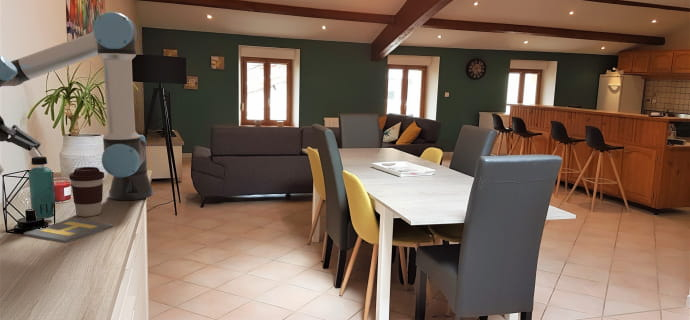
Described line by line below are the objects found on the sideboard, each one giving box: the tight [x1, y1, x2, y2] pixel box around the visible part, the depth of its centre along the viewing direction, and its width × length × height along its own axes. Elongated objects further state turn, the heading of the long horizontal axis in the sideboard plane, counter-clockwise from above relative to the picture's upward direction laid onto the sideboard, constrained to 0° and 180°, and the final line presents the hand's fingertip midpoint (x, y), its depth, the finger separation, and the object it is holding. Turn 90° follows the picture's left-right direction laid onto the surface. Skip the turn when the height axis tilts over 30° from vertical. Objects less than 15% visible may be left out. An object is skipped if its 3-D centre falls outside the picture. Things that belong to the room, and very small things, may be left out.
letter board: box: [23, 218, 113, 243], centre depth 145 cm, size 16×16×1 cm
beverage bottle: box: [27, 156, 56, 219], centre depth 153 cm, size 6×7×20 cm
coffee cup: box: [68, 166, 105, 218], centre depth 161 cm, size 10×10×15 cm
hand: (22, 169), depth 153 cm, fingers open, 13 cm apart
